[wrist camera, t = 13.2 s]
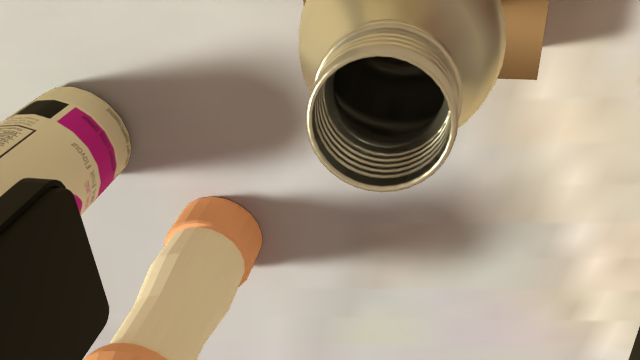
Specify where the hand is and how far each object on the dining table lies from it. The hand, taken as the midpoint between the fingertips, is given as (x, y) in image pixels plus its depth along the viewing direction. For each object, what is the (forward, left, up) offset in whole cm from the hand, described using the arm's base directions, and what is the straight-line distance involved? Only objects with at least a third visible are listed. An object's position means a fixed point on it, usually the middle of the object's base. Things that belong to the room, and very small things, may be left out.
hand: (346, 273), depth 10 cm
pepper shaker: (+23, -16, -30) cm, 41 cm away
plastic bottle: (0, 0, -25) cm, 25 cm away
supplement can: (+14, -26, -30) cm, 42 cm away
